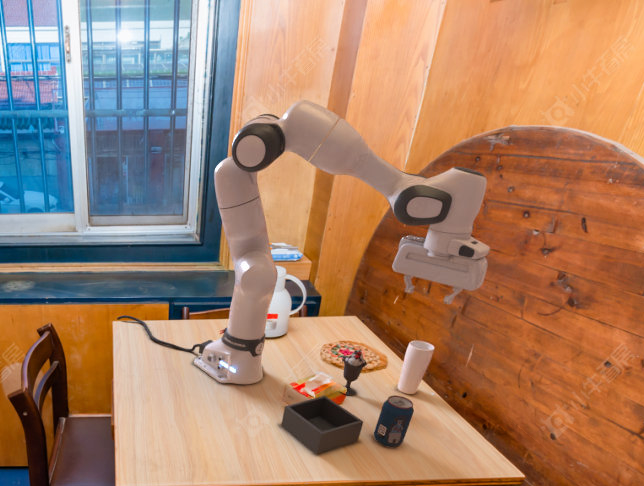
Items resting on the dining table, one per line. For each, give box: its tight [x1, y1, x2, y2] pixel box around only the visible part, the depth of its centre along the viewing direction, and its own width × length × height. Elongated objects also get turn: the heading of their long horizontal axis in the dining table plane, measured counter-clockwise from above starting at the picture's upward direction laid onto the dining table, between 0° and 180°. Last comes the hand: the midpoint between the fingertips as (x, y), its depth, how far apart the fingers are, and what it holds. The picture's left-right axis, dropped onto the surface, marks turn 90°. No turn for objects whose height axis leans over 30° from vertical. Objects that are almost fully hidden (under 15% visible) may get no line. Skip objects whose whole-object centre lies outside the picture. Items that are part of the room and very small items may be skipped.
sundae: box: [341, 348, 368, 396], centre depth 148 cm, size 7×7×15 cm
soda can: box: [373, 395, 415, 448], centre depth 128 cm, size 7×7×12 cm
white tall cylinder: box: [397, 340, 435, 395], centre depth 150 cm, size 7×7×15 cm
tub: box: [280, 395, 364, 455], centre depth 132 cm, size 14×14×6 cm
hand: (427, 297), depth 127 cm, fingers open, 8 cm apart
